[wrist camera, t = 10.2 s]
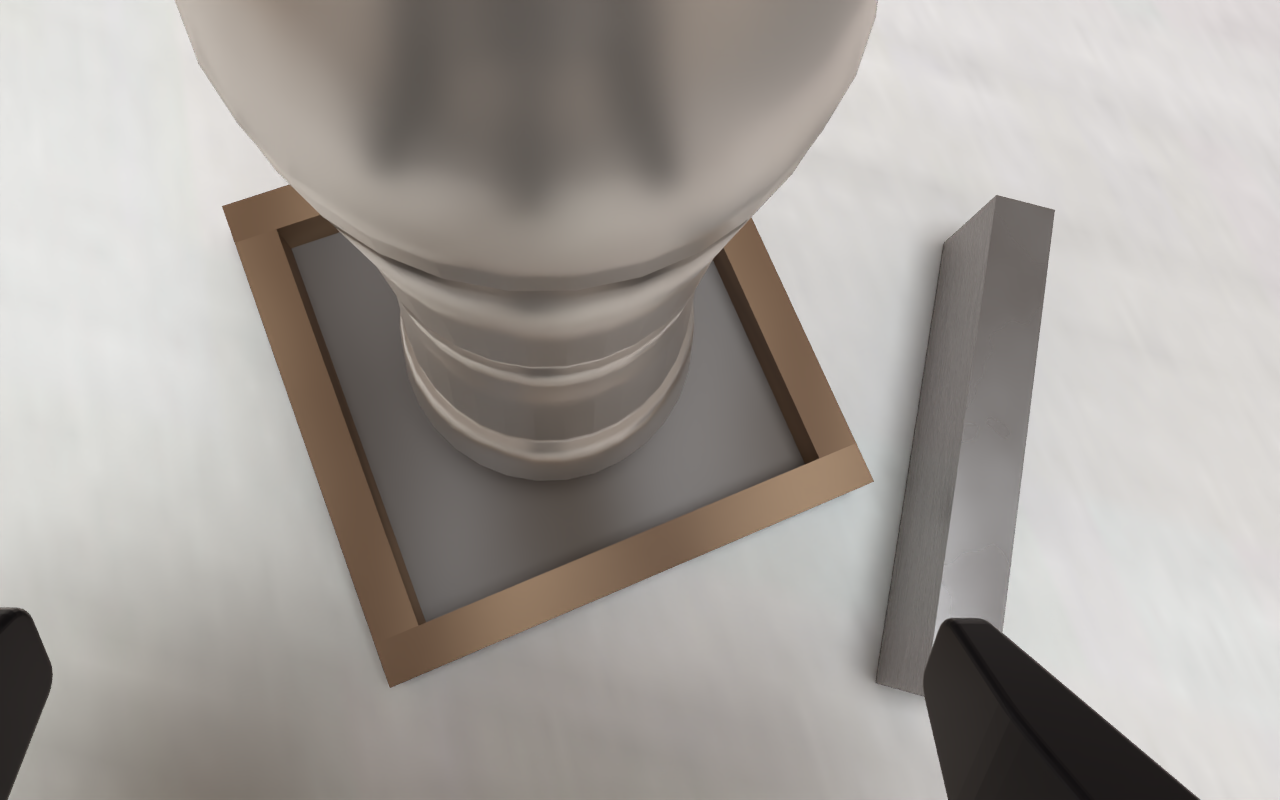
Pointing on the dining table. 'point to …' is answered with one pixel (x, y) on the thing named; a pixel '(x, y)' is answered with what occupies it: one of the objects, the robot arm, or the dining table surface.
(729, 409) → the wooden tray
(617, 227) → the plastic bottle
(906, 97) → the dining table surface
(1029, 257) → the bar
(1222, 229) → the dining table surface
